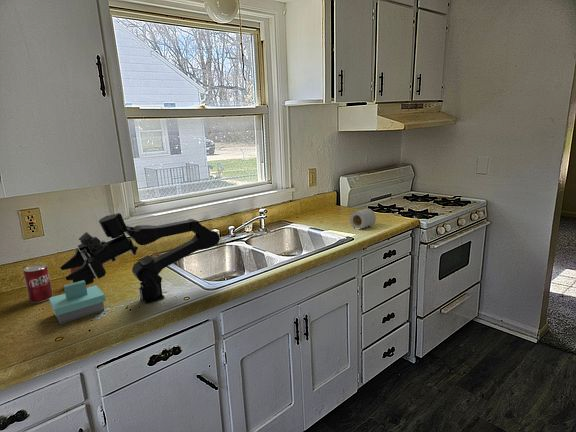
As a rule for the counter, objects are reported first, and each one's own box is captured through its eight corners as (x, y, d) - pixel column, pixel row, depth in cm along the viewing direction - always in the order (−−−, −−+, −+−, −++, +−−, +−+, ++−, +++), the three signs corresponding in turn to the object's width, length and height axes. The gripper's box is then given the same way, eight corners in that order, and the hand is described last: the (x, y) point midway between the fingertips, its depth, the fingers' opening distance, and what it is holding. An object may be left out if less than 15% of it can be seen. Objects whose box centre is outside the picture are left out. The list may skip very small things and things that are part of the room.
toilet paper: (364, 231, 207) (364, 213, 205) (349, 227, 214) (349, 210, 212) (375, 227, 214) (375, 209, 211) (361, 224, 221) (361, 207, 218)
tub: (97, 301, 134) (95, 288, 133) (104, 310, 128) (102, 296, 127) (54, 314, 126) (52, 300, 125) (60, 324, 120) (57, 309, 119)
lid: (97, 291, 135) (94, 273, 133) (105, 301, 127) (102, 281, 125) (50, 304, 126) (46, 285, 124) (56, 315, 118) (52, 295, 116)
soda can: (25, 300, 137) (18, 269, 135) (47, 293, 143) (41, 262, 140) (35, 305, 133) (28, 273, 131) (57, 297, 139) (50, 266, 136)
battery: (94, 282, 152) (90, 258, 149) (75, 287, 148) (70, 262, 145) (91, 279, 155) (87, 255, 153) (73, 283, 151) (68, 259, 149)
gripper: (95, 221, 128) (45, 243, 121) (109, 235, 114) (54, 261, 107) (109, 248, 133) (63, 271, 126) (125, 266, 119) (73, 293, 112)
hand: (63, 273), depth 117 cm, fingers open, 9 cm apart
